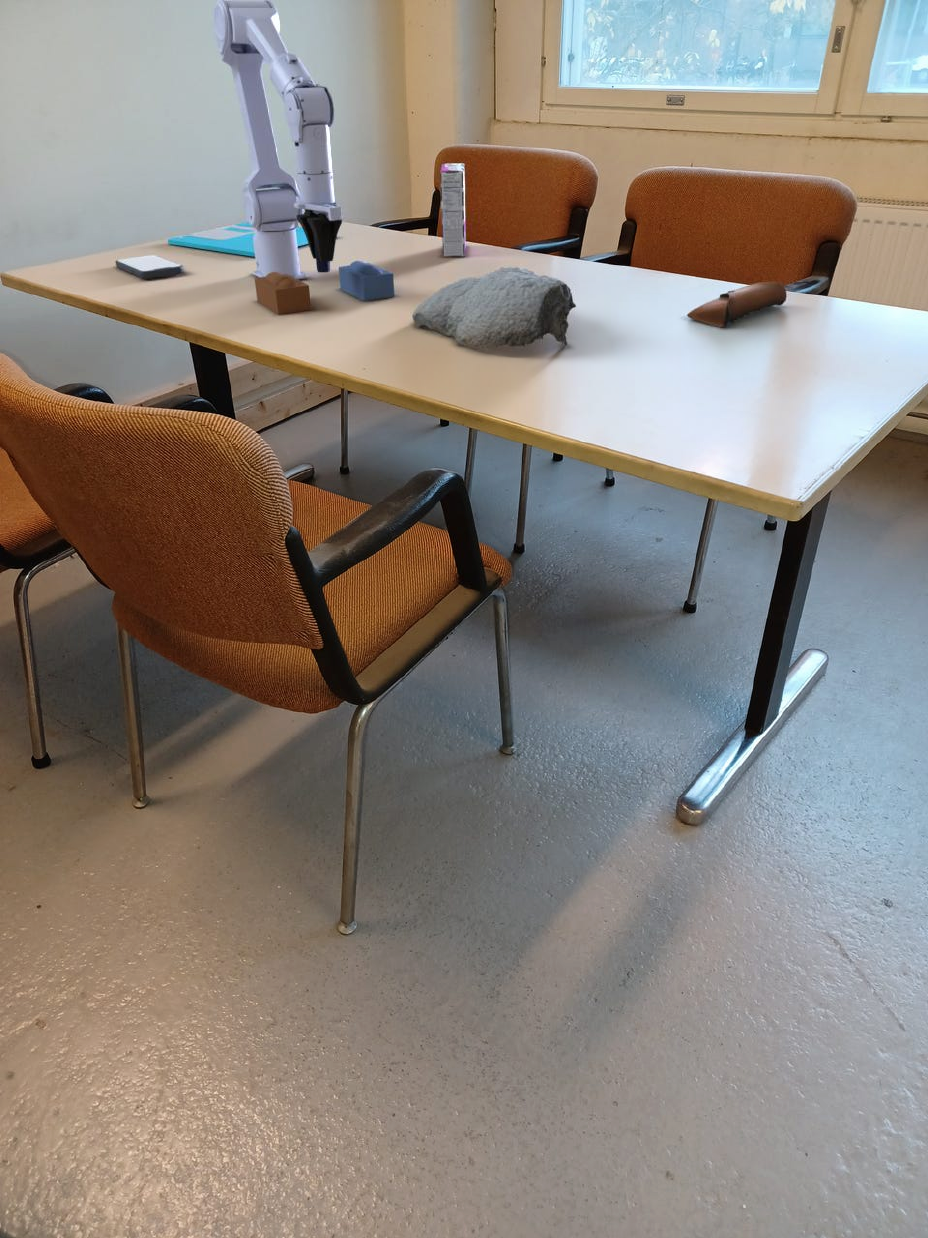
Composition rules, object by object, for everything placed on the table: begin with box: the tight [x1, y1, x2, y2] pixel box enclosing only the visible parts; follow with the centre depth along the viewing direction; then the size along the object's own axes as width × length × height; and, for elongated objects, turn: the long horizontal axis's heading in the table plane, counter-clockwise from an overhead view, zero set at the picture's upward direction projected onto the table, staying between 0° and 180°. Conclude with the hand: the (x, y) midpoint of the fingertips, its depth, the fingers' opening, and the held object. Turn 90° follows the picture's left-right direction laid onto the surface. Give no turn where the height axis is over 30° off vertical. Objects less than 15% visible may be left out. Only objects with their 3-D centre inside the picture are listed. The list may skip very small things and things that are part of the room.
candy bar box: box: [439, 162, 467, 258], centre depth 185 cm, size 11×5×16 cm, turn 179°
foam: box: [411, 266, 577, 349], centre depth 137 cm, size 28×21×9 cm
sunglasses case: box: [686, 281, 788, 329], centre depth 146 cm, size 18×7×7 cm, turn 135°
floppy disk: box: [167, 221, 309, 258], centre depth 200 cm, size 26×28×1 cm
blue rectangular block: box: [338, 260, 395, 302], centre depth 159 cm, size 10×6×5 cm, turn 31°
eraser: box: [314, 237, 331, 273], centre depth 152 cm, size 2×2×7 cm
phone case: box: [115, 254, 185, 280], centre depth 176 cm, size 9×2×16 cm
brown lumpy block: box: [254, 272, 312, 315], centre depth 152 cm, size 10×6×5 cm, turn 31°
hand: (322, 259), depth 153 cm, fingers closed on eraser, 3 cm apart
